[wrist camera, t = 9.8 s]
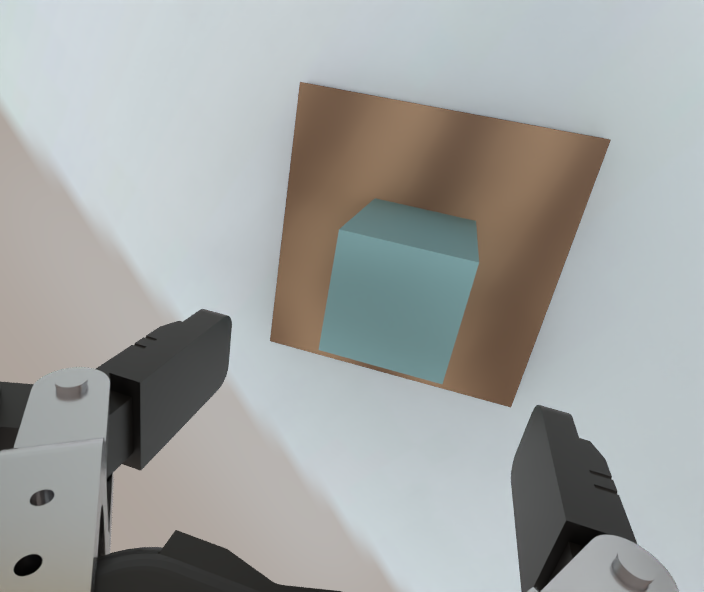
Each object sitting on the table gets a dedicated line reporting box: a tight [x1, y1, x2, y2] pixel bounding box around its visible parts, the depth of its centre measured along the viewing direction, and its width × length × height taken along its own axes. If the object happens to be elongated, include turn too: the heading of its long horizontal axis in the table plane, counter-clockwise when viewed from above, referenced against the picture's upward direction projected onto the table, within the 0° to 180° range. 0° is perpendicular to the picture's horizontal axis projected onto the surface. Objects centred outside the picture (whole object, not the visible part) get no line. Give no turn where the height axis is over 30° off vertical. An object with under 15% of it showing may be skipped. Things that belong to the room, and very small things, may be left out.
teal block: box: [319, 198, 479, 384], centre depth 20 cm, size 5×5×7 cm
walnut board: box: [270, 82, 610, 407], centre depth 24 cm, size 14×14×1 cm
